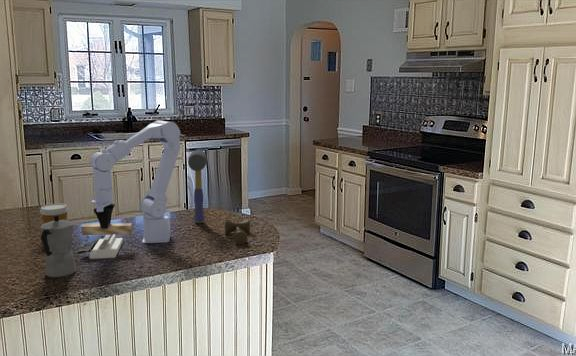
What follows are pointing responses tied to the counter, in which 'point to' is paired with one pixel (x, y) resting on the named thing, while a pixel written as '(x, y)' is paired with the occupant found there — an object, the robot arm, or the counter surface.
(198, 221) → the rubber mallet
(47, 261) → the coffeepot
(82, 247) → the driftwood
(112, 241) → the ridge block
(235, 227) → the kendama
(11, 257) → the counter surface
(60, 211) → the disposable coffee cup
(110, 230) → the oak bar
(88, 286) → the counter surface
